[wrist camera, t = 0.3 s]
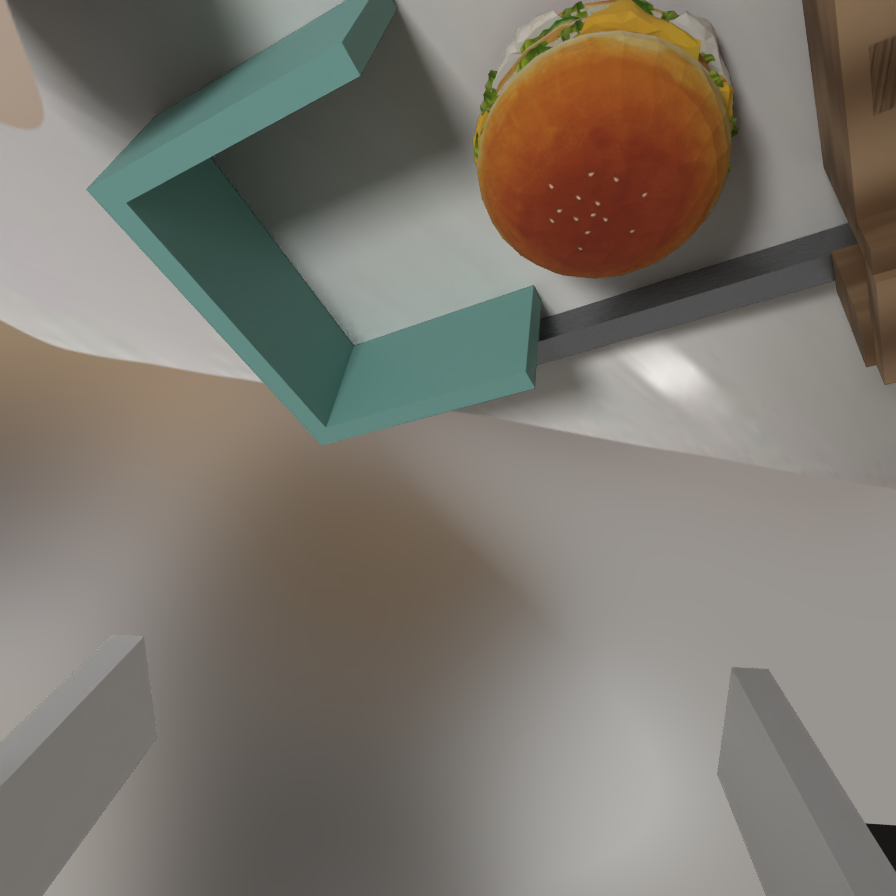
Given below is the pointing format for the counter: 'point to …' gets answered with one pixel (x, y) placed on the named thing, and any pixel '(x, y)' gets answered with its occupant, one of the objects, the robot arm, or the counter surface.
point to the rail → (695, 295)
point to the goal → (273, 276)
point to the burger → (605, 136)
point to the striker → (860, 159)
